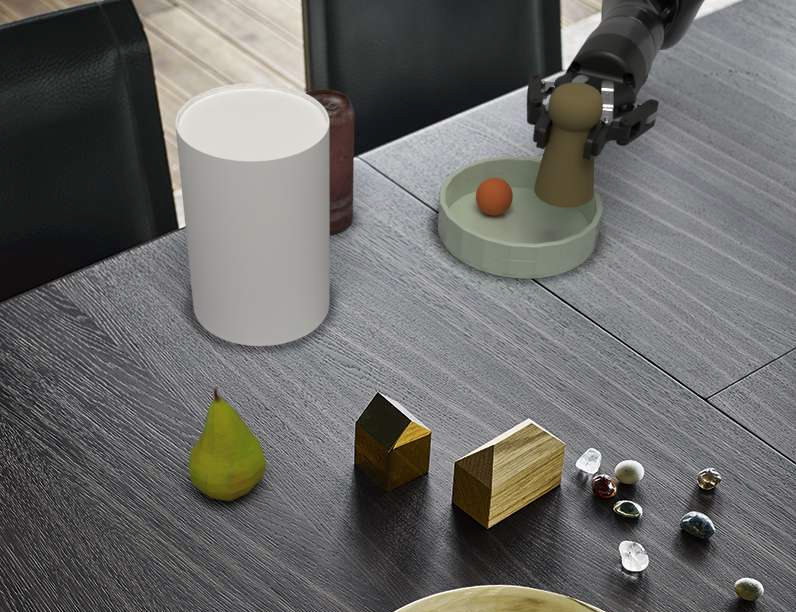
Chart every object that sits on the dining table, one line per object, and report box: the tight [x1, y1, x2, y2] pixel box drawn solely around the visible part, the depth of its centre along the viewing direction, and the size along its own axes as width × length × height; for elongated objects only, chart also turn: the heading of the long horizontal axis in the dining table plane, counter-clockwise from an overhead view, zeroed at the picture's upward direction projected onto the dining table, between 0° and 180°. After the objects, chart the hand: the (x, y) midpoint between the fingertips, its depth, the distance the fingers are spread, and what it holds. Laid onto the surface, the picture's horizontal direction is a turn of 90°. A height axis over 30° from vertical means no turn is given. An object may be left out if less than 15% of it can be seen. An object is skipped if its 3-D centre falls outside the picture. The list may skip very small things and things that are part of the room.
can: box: [305, 88, 355, 236], centre depth 131 cm, size 6×6×14 cm
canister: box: [174, 82, 331, 347], centre depth 118 cm, size 14×14×20 cm
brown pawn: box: [534, 82, 603, 208], centre depth 122 cm, size 6×6×11 cm
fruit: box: [188, 386, 267, 502], centre depth 103 cm, size 6×6×12 cm
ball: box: [476, 178, 513, 216], centre depth 136 cm, size 4×4×4 cm
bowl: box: [437, 155, 604, 280], centre depth 134 cm, size 17×17×4 cm
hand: (564, 145), depth 119 cm, fingers closed on brown pawn, 4 cm apart
